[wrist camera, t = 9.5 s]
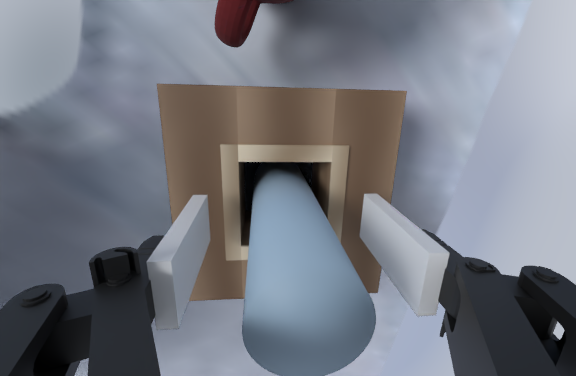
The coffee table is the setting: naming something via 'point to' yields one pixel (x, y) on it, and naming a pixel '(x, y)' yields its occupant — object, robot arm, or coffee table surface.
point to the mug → (237, 19)
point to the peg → (300, 282)
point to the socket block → (277, 148)
